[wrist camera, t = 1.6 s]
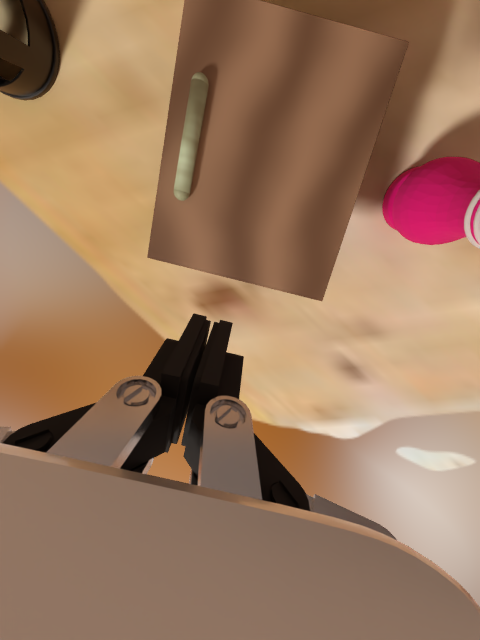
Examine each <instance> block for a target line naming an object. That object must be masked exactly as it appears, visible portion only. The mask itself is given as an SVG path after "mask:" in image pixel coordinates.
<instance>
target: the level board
mask: <svg viewBox="0 0 480 640" xmlns="http://www.w3.org/2000/svg"><path fill="white" fill-rule="evenodd" d="M408 43H409V42H407V41H403V40H400V39H396V38H393V37H389V36H386V35H382V34H378V33H375V32H371V31H368V30H364V29H361V28H357V27H353V26H350V25H346V24H343V23H339V22H336V21H332V20H328V19H325V18H321V17H318V16H314V15H311V14H307V13H303V12H300V11H296V10H293V9H289V8H286V7H282V6H278V5H275V4H271V3H268V2H264V1H260V0H185V2H184V9H183V15H182V22H181V29H180V36H179V43H178V50H177V57H176V64H175V71H174V78H173V84H172V91H171V98H170V105H169V112H168V119H167V126H166V133H165V140H164V146H163V153H162V160H161V167H160V174H159V181H158V188H157V195H156V202H155V208H154V215H153V222H152V229H151V236H150V243H149V250H148V257H147V258H151V259H155V260H159V261H163V262H167V263H171V264H175V265H179V266H183V267H187V268H191V269H195V270H199V271H203V272H207V273H211V274H215V275H219V276H223V277H227V278H231V279H235V280H239V281H243V282H247V283H251V284H255V285H259V286H263V287H267V288H271V289H275V290H279V291H283V292H287V293H291V294H295V295H299V296H303V297H307V298H311V299H315V300H319V301H322V300H323V297H324V294H325V291H326V288H327V285H328V282H329V279H330V276H331V273H332V270H333V267H334V264H335V261H336V258H337V255H338V252H339V249H340V246H341V243H342V240H343V237H344V234H345V231H346V228H347V225H348V222H349V219H350V216H351V213H352V210H353V207H354V204H355V201H356V198H357V195H358V192H359V190H360V187H361V184H362V181H363V178H364V175H365V172H366V169H367V166H368V163H369V160H370V157H371V154H372V151H373V148H374V145H375V142H376V139H377V136H378V133H379V130H380V127H381V124H382V121H383V118H384V115H385V112H386V109H387V106H388V103H389V100H390V97H391V94H392V91H393V88H394V85H395V82H396V79H397V76H398V73H399V70H400V67H401V64H402V61H403V58H404V55H405V52H406V49H407V46H408Z"/></svg>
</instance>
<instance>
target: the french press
mask: <svg viewBox="0 0 480 640" xmlns="http://www.w3.org/2000/svg"><path fill="white" fill-rule="evenodd" d="M20 2H21V5H22V8H23V12H24V15H25V19H26V25H27V31H28V46H27V45H26V44H24V43H22V42H21V41H19V40H17V39H15V38H14V37H12V36H10V35H9V34H7V33H5V32H3V31H2V30H0V58H2V59H4V60H6V61H8V62H10V63H12V64H14V65H16V66H19V67H21V68H22V69H21V70H20V72H19V73H18V75H17V76H16V77H15V78H13V79H12V80H11V81H8V80H6V79H4V78H3V77H1V76H0V92H2V93H3V94H5V95H8V96H10V97H13V98H15V99H21V100H33V99H36V98H39V97H41V96H43V95H44V94H45V93H46V92H48V90H49V89H50V88H51V86H52V85H53V83H54V81H55V78H56V76H57V72H58V67H59V53H60V51H59V43H58V36H57V33H56V29H55V25H54V22H53V20H52V17H51V14H50V12H49V10H48V8H47V6H46V4H45V2H44V1H43V0H20Z"/></svg>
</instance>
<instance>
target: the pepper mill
mask: <svg viewBox="0 0 480 640" xmlns="http://www.w3.org/2000/svg"><path fill="white" fill-rule="evenodd" d="M382 208H383V215H384V218H385V220H386V222H387V223H388V225H389V226H391V227H392V228H393V229H395V230H398V232H399V233H400V234H401V235H402V236H403V237H405V238H406V239H408V240H410V241H412V242H415V243H420V244H427V245H435V244H444V243H449V242H453V241H455V240H458V239H461V238H464V237H467V238H468V240H469V241H470V242H471V243H472V244H473V245H474V246H476V247H477V248H479V249H480V163H479V162H477V161H474V160H472V159H469V158H465V157H443V158H438V159H435V160H432V161H430V162H427V163H426V164H424V165H422V166H420V167H415V168H412V169H409V170H407V171H406V172H404V173H402V174H401V175H399V176H398V177H397V178H396V179H395V180H394V181H393V182H392V184H391V185H390V186H389V188H388V190H387V192H386V194H385V197H384V200H383V207H382Z"/></svg>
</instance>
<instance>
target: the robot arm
mask: <svg viewBox="0 0 480 640" xmlns="http://www.w3.org/2000/svg"><path fill="white" fill-rule="evenodd" d="M206 318H207V317H206V316H202V315H198V314H193V316H192V317H191V319H190V321H189V323H188V325H187V327H186V329H185V330H184V332H183V334H182V336H181V338H180V340H179V341H176V340H172V339H166V340H165V341H164V343H163V345H162V346H161V348H160V349H159V351H158V353H157V354H156V356H155V357H154V359H153V361H152V362H151V364H150V365H149V367H148V369H147V370H146V372H145V373H144V375H143V376H132V377H128V378H125V379H123V380H120V381H119V382H118V383H116V384H115V385H114V386H113V387H112V388H111V389H110V390H109V391H108V392H107V393H106V394H105V395H104V396H103V397H102V398H101V399H100V400H99V401H98V402H97V403H94V404H91V405H88V406H85V407H81V408H79V409H75V410H72V411H69V412H66V413H63V414H60V415H57V416H54V417H51V418H48V419H45V420H42V421H39V422H36V423H32V424H30V425H27V426H25V427H23V428H20V429H18V430H17V431H12V430H11V427H0V640H480V607H479V605H478V604H477V603H476V601H475V600H474V599H473V598H472V597H471V595H470V594H469V593H468V592H467V591H466V590H465V589H464V588H463V587H462V586H461V585H460V584H459V583H458V582H457V581H456V580H455V579H454V578H452V577H451V576H450V575H449V574H447V573H446V572H445V571H444V570H443V569H441V568H440V567H439V566H437V565H436V564H435V563H433V562H432V561H431V560H429V559H427V558H426V557H424V556H422V555H421V554H420V553H418V552H416V551H415V550H413V549H412V548H410V547H409V546H407V545H405V544H403V543H401V542H399V541H397V540H396V538H395V537H394V536H393V535H392V534H391V533H390V532H389V531H388V530H387V529H386V528H384V527H382V526H381V525H380V524H377V523H376V522H374V521H371V520H369V519H367V518H365V517H363V516H361V515H358V514H356V513H354V512H352V511H350V510H348V509H346V508H343V507H341V506H339V505H337V504H335V503H333V502H331V501H329V500H326V499H324V498H322V497H320V496H318V495H316V494H315V495H314V497H311V496H309V495H307V494H306V493H305V491H304V490H303V488H302V487H301V485H300V484H299V483H298V482H297V481H296V480H295V478H294V477H293V476H292V475H291V474H290V473H289V472H288V471H287V469H286V468H285V467H284V466H283V465H282V464H281V463H280V462H279V461H278V459H277V458H276V457H275V456H274V455H273V454H272V453H271V452H270V450H269V449H268V448H267V447H266V446H265V445H264V444H263V443H262V441H261V440H260V439H259V438H258V437H257V436H256V435H255V434H254V433H253V425H252V417H251V413H250V410H249V408H248V407H247V406H246V404H244V403H243V402H242V401H241V400H239V393H240V385H241V376H242V367H243V358H244V357H243V356H240V355H235V354H231V353H227V352H226V350H227V346H228V341H229V337H230V332H231V328H232V323H231V322H227V321H223V320H220V322H219V323H217V322H214V325H213V328H212V330H211V333H210V336H209V339H208V342H207V337H208V332H209V327H210V322H211V321H208V320H206ZM206 342H207V344H206ZM187 412H188V413H187ZM186 415H187V418H186ZM185 418H186V423H185V428H184V434H183V439H182V445H183V446H186V448H185V452H184V458H185V459H186V461H187V462H188V464H189V466H190V467H191V474H190V481H189V484H188V483H183V482H179V481H174V480H170V479H165V478H160V477H156V476H151V475H147V472H148V470H149V469H150V467H151V465H152V462H153V459H154V457H156V456H158V455H160V454H162V453H164V452H168V451H169V448H170V445H171V443H174V444H177V442H178V439H179V436H180V433H181V430H182V427H183V424H184V421H185Z"/></svg>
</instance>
